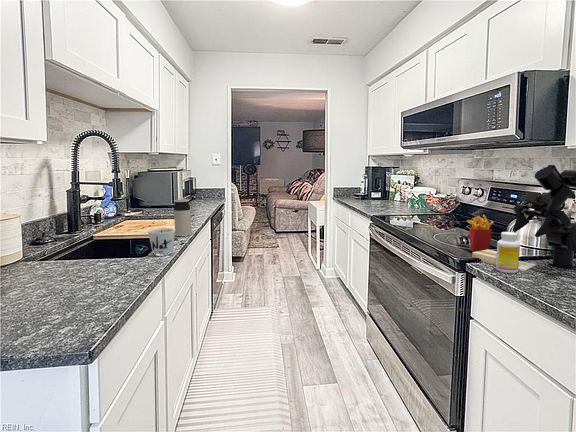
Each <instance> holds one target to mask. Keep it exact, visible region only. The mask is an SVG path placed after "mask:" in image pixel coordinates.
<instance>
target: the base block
mask: <svg viewBox="0 0 576 432" xmlns="http://www.w3.org/2000/svg"><path fill="white" fill-rule="evenodd" d="M471 253H472V254H471V258H472V257H476V258H479V259H481V261H480V262H483V263H487V264H491V265H496V257H497V250H493V249H489V250H488V249H487V250H482V251H477V252H471Z"/></svg>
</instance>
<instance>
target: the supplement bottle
mask: <svg viewBox="0 0 576 432" xmlns="http://www.w3.org/2000/svg"><path fill="white" fill-rule="evenodd" d="M500 237H501V239H499V240H498V241H497V242H496V243H497V244H496V251H497V257H496V264H495V269H496V270H497V271H498V272H501V273H505V274H515V273H518V272H519V269H518V267H519V261H520V248H521V244H520V242H519V241H518V240H517V238H518V233H517V232H513V231H502V232H501V234H500Z"/></svg>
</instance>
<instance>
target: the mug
mask: <svg viewBox="0 0 576 432" xmlns="http://www.w3.org/2000/svg"><path fill="white" fill-rule="evenodd" d="M147 234H148V237H149V238H148V239H149V243H150V247H151V250H152V253H153V252H154V253H170V252H173V253H174V244H175V228H156V229H155V228H154V229H150V230H148V231H147Z"/></svg>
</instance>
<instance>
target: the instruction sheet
mask: <svg viewBox="0 0 576 432" xmlns="http://www.w3.org/2000/svg"><path fill="white" fill-rule="evenodd" d="M535 266H538V264H537V263H531V262H526V261H521V260H519V267H518V270H522V271H527V270H529V269H531V268H534V267H535Z"/></svg>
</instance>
